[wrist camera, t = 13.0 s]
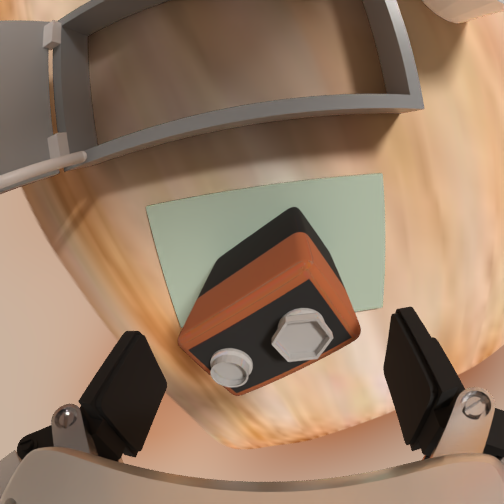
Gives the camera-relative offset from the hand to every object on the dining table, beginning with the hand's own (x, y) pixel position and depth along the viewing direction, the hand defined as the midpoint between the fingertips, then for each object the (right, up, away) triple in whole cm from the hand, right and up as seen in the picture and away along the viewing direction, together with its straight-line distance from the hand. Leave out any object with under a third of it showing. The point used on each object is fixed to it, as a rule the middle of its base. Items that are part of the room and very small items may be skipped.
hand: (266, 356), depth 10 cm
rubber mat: (+1, +3, +10) cm, 10 cm away
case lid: (-17, +10, -6) cm, 21 cm away
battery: (+1, +4, +10) cm, 10 cm away
